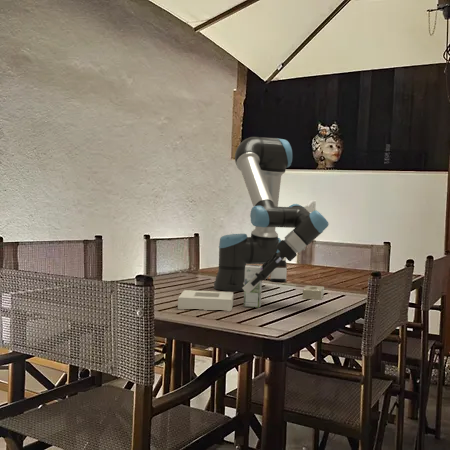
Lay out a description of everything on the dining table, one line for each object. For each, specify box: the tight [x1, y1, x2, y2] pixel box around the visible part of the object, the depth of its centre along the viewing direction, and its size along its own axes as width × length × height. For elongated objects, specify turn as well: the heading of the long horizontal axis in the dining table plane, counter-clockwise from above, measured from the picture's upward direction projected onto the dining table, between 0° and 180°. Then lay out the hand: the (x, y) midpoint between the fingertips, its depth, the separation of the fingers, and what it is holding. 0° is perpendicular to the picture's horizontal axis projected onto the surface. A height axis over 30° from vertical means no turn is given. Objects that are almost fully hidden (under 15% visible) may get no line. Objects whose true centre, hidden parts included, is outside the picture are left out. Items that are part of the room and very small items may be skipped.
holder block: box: [177, 289, 235, 312], centre depth 191 cm, size 18×16×4 cm
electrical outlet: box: [302, 285, 325, 301], centre depth 221 cm, size 7×4×18 cm
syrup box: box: [243, 264, 263, 309], centre depth 193 cm, size 6×6×14 cm
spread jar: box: [264, 257, 288, 283], centre depth 262 cm, size 12×11×12 cm
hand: (245, 288), depth 193 cm, fingers open, 11 cm apart
